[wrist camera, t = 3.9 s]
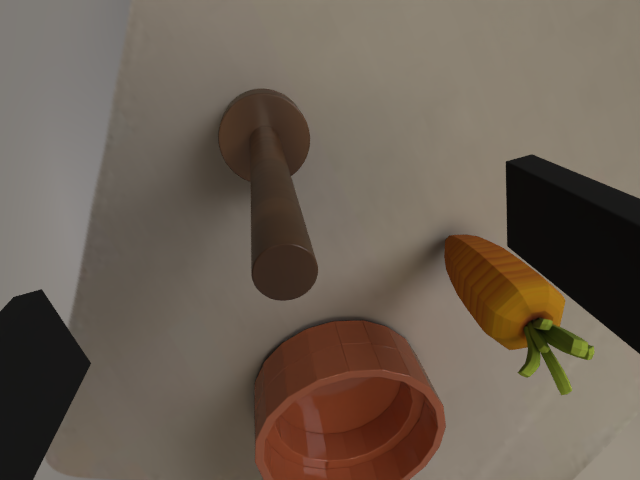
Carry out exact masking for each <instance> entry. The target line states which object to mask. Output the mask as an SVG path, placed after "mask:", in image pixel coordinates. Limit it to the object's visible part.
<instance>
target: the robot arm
mask: <svg viewBox="0 0 640 480" xmlns="http://www.w3.org/2000/svg"><path fill="white" fill-rule="evenodd" d="M506 196H507V246H508V247H509V248H510V249H511V250H513V251H514V252H515V253H516V254H517V255H519V256H520V257H521V258H522V259H524V260H525V261H526V262H527V263H529V264H530V265H531V266H532V267H533V268H535V269H536V270H537V271H538V272H540V273H541V274H542V275H543V276H545V277H546V278H547V279H548V280H549V281H551V282H552V283H553V284H554V285H556V286H557V287H558V288H559V289H561V290H562V291H563V292H564V293H565V294H567V295H568V296H569V297H570V298H572V299H573V300H574V301H575V302H577V303H578V304H579V305H580V306H581V307H583V308H584V309H585V310H586V311H588V312H589V313H590V314H591V315H593V316H594V317H595V318H596V319H597V320H599V321H600V322H601V323H602V324H604V325H605V326H606V327H607V328H608V329H610V330H611V331H612V332H613V333H615V334H616V335H617V336H618V337H620V338H621V339H622V340H623V341H624V342H626V343H627V344H628V345H629V346H631V347H632V348H633V349H634V350H636V351H637V352H638V353H639V354H640V199H639V198H637V197H634V196H632V195H629V194H627V193H624V192H622V191H620V190H617V189H615V188H612V187H610V186H607V185H605V184H603V183H600V182H598V181H595V180H593V179H590V178H588V177H586V176H583V175H581V174H578V173H576V172H573V171H571V170H569V169H566V168H564V167H561V166H559V165H556V164H554V163H552V162H549V161H547V160H544V159H542V158H539V157H537V156H535V155H528V156H524V157H521V158H517V159H514V160H510V161H506ZM90 364H91V363H90V361H89V360H88V358H87V357H86V355H85V354H84V352H83V351H82V349H81V348H80V346H79V345H78V343H77V342H76V340H75V339H74V337H73V336H72V334H71V333H70V331H69V330H68V328H67V327H66V325H65V324H64V323H63V321H62V319H61V318H60V316H59V315H58V313H57V312H56V310H55V309H54V307H53V306H52V304H51V303H50V301H49V300H48V298H47V297H46V295H45V294H44V292H43V291H42V290H38V291H34V292H30V293H27V294H23V295H19V296H16V297H13V298H12V299H11V301H10V302H9V303H8V304H7V305H6V306H5V307H4V308H3V309H2V310H1V311H0V480H33V478H34V477H35V474H36V472H37V470H38V468H39V466H40V464H41V462H42V460H43V458H44V456H45V454H46V452H47V450H48V448H49V446H50V444H51V442H52V440H53V438H54V436H55V434H56V432H57V430H58V428H59V426H60V424H61V422H62V420H63V418H64V416H65V414H66V412H67V410H68V408H69V406H70V404H71V402H72V400H73V398H74V396H75V394H76V392H77V390H78V388H79V386H80V384H81V382H82V380H83V378H84V376H85V374H86V372H87V370H88V368H89V366H90Z"/></svg>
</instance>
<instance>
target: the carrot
mask: <svg viewBox="0 0 640 480" xmlns="http://www.w3.org/2000/svg"><path fill="white" fill-rule="evenodd" d="M444 258H445V265H446V270H447V272H448V275H449V277H450V280H451V282H452V284H453V286H454V289H455V291H456V293H457V295H458V296H459V298H460V299H461V301H462V302H463V303H464V305H465V306H466V308H467V309H468V311H469V312H470V314H471V315H472V316H473V318H474V319H475V320H476V322H477V323H478V324H479V326H480V327H481V328H482V330H483V331H484V332H485V333H486V334H488V335H489V336H490V337H492V338H493V339H495V340H496V341H497V342H499V343H500V344H501V345H503V346H504V347H506V348H507V349H509V350H515V349H521V348H526V347H528V354H527V359H526V362H525V364H524V365H523V367H522V368H521V369H520V370H519V372H518V373H519V374H520V375H521V376H524V377H530V376H531V375H532V374H533V373H534V372H535V371H536V370H537V368H538V367H539V366H540V352H541V354H542V356H543V358H544V360H545V362H546V364H547V366H548V368H549V370H550V372H551V375H552V377H553V379H554V381H555V383H556V386H557V388H558V390H559V391H560V393H561V395H565V394H568V393H570V392H571V391H572V388H571V385H570V382H569V380H568V378H567V376H566V374H565V372H564V370H563V369H562V367H561V365H560V364H559V362H558V361H557V359H556V357H555V356H554V354H553V353H552V351H551V349H550V347H549V346H548V344H547V343H549V344H550V345H552V346H553V347H555V348H557V349H559V350H561V351H563V352H565V353H567V354H570V355H573V356H575V357H579V358H582V359H586V360H590V359H592V357H593V355H594V346H590V345H588V343H587V342H586V341H584V340H583V339H582V338H580V337H578V336H576V335H575V334H573V333H571V332H569V331H567V330H565V329H563V328H561V327H560V323H561V318H562V314H563V309H564V305H565V299H564V297H563V296H562V294H561V293H560V292H559V291H557V290H556V289H555V288H554V287H553V286H552V285H551V284H550V283H549V282H547V281H546V280H545V279H544V278H543V277H542V276H541V275H539V274H538V273H537V272H535V271H534V270H533V269H531V268H530V267H529V266H528V265H526V264H525V263H524V262H522V261H521V260H520V259H518V258H517V257H515V256H514V255H513V254H511V253H510V252H508V251H507V250H505V249H504V248H502V247H500V246H498V245H496V244H494V243H492V242H490V241H487V240H485V239H483V238H480V237H478V236H472V235H451V236H449V237H448V238H447V239H446V240H445V255H444Z"/></svg>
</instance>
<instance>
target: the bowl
mask: <svg viewBox="0 0 640 480" xmlns="http://www.w3.org/2000/svg"><path fill="white" fill-rule="evenodd" d="M254 419H255V463H256V465H257V467H258V469H259V471H260V473H261V475H262V477H263V479H264V480H410V479H411V478H412V477H413V476H414V475H416V474H417V473H418V472H419V471H420V470H422V469H423V468H424V467H425V466H426V465H427V464H428V462H429V461H430V459H431V458H432V457H433V455H434V454H435V452H436V451H437V450H438V448H439V446H440V444H441V441H442V437H443V434H444V431H445V428H446V423H445V415H444V408H443V404H442V403H441V401H440V399H439V397H438V395H437V393H436V391H435V389H434V387H433V385H432V384H431V382H430V380H429V378H428V376H427V374H426V372H425V370H424V368H423V366H422V365H421V363H420V361H419V359H418V357H417V355H416V354H415V352H414V351H413V349H412V348H411V346H410V345H409V343H408V342H407V340H406V339H405V338H403V337H402V336H400V335H399V334H397V333H396V332H394V331H393V330H391V329H390V328H388V327H386V326H383V325H379V324H375V323H371V322H367V321H363V320H362V321H361V320H360V321H332V322H329V323H326V324H322V325H319V326H315V327H312V328H308V329H305V330H304V331H302V332H300V333H299V334H297V335H295V336H293V337H292V338H290V339H288V340H287V341H285V342H283V343H282V344H281V345H280V346H279V347H278V348H277V349H276V350H275V351H274V352H273V353H272V354H271V355H270V357H269V358H268V359H267V360H266V361H265V362H264V364H263V366H262V368H261V370H260V373H259V375H258V377H257V379H256V381H255V392H254Z"/></svg>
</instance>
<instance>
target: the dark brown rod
mask: <svg viewBox="0 0 640 480" xmlns="http://www.w3.org/2000/svg"><path fill="white" fill-rule="evenodd" d="M218 140H219V147H220V151H221V154H222V156H223V158H224V160H225V162H226V163H227V165H228V166H229V167H230V169H231V170H232V171H233V172H235V173H236V174H237V175H238V176H240V177H242V178H243V179H245V180H247V181H250V182H251V269H252V280H253V283H254V285H255V286H256V288H257V289H258V290H259V291H260V292H261V293H262V294H263V295H265V296H267V297H269V298H271V299H275V300H292V299H295V298H298V297H300V296H302V295H304V294H305V293H306V292H308V291H309V290H310V289H311V287H312V286H313V285H314V283H315V281H316V278H317V275H318V266H317V261H316V258H315V255H314V252H313V248H312V245H311V242H310V238H309V235H308V232H307V228H306V225H305V222H304V218H303V215H302V212H301V208H300V205H299V202H298V198H297V195H296V192H295V188H294V185H293V182H292V178H291V176H292V175H293V174H294V173H295V172H297V171H298V169H299V168H300V167H301V166H302V164H303V163H304V161H305V159H306V157H307V154H308V151H309V146H310V134H309V128H308V125H307V122H306V120H305V118H304V116H303V115H302V113H301V112H300V110H299V109H298V107H297V106H296V105H295V104H294V102H293V101H291V100H290V99H289V98H288V97H287V96H285V95H283V94H282V93H280V92H277V91H274V90H270V89H254V90H250V91H247V92H245V93H243V94H241V95H239V96H238V97H236V98H235V99H234V100H233V101H232V102H231V103H230V104H229V106H228V107H227V109H226V111H225V113H224V115H223V118H222V121H221V124H220V128H219V134H218Z"/></svg>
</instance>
